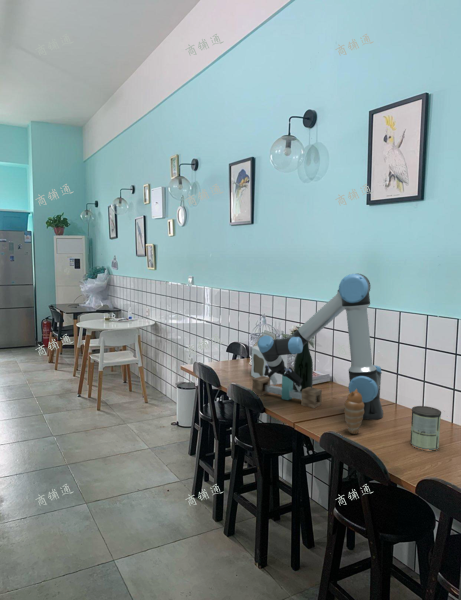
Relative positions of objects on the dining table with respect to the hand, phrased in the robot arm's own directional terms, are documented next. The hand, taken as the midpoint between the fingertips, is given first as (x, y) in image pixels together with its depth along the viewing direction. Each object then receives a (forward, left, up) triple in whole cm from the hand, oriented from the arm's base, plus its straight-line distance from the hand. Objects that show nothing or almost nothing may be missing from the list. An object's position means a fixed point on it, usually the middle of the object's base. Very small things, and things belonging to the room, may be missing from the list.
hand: (287, 386), depth 233 cm
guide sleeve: (-14, +1, -6) cm, 15 cm away
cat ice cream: (-45, +24, -7) cm, 51 cm away
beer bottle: (0, -17, -7) cm, 18 cm away
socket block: (+15, +1, -6) cm, 16 cm away
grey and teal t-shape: (-2, +1, -6) cm, 6 cm away
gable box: (+27, -26, -7) cm, 38 cm away
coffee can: (-71, +18, -7) cm, 73 cm away
